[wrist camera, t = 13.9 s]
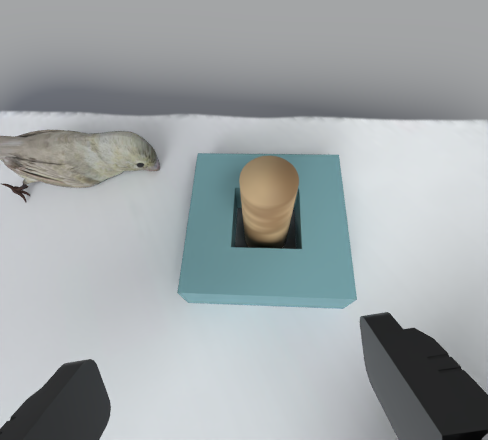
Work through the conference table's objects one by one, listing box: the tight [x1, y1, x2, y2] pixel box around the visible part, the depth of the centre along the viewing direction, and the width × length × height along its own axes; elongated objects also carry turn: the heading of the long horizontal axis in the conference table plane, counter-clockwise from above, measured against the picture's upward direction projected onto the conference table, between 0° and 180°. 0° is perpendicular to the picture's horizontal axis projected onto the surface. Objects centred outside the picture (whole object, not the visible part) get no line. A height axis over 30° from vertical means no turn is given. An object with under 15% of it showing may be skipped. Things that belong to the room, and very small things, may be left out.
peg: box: [239, 156, 299, 249], centre depth 25 cm, size 4×4×10 cm
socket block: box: [178, 153, 357, 309], centre depth 28 cm, size 14×14×4 cm
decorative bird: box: [0, 130, 160, 202], centre depth 31 cm, size 5×16×7 cm, turn 97°
